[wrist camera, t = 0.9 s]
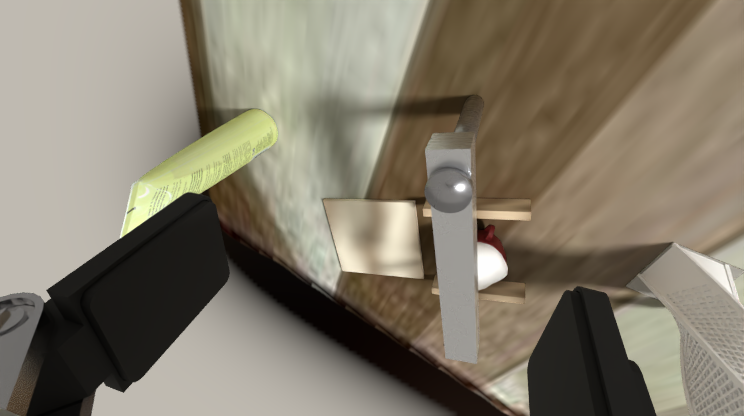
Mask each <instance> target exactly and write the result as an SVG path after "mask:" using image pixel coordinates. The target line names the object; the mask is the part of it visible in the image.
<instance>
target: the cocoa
mask: <svg viewBox="0 0 744 416" xmlns="http://www.w3.org/2000/svg"><path fill="white" fill-rule="evenodd" d="M494 230H495V226H494V225H488V226H487V227H486V228H485V229H484V230H477V255H478V290H482V289H485V288H487V287H488V286H490V285H491V284H493V283H496V282H498V281H500V280H501V279H503V278H504V277H505V276H507V272H508V267H507V259H506V254H505V251H504V249H503V246H502V243H501V241H500V240H499V239H498V238H497V237H496V236H495V235H494Z"/></svg>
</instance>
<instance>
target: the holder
mask: <svg viewBox="0 0 744 416" xmlns="http://www.w3.org/2000/svg"><path fill="white" fill-rule="evenodd" d="M476 210H477V218H480V219H506V220H531V201H530V199H494V198H476ZM423 215H424V216H429V217H432V214H431V205H430V204H429V203H428V201H427V199H426V202H425V204H424V207H423ZM432 294H439V285H438V275H435V277H434V281H433V285H432ZM478 299H483V300H492V301H501V302H510V303H518V304H525V283H517V282H507V281H498V282H496V283H493V284H491V285H490V286H488V287H487V288H485V289H482V290H478Z"/></svg>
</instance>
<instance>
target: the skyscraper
mask: <svg viewBox="0 0 744 416" xmlns="http://www.w3.org/2000/svg"><path fill="white" fill-rule="evenodd" d="M743 273H744V270H742V269H740V268H737V267H735V266H732V265H730V264H727V263H725V262H722V261H719V260H717V259H714V258H712V257H709V256H707V255H704V254H702V253H699V252H697V251H694V250H692V249H689V248H687V247H684V246H681V245H679V244H677V243H674V242H673V243H671V244H670V245H669V246H668V247H667V248H666V249H665V250H664V251H663V252H662V253H661V254H660V255H658V256H657V257H656V258H655V259H654V260H653V261H652V262H651V263H650V264H649V265H648V266H646V267H645V268H644V269H643V270H642V271H641V272H640V273H639V274H638V275H637V276H636V277H634V278H633V279H632V280H631V281H630V282H629V283H628V284H627V285H626V287H628V288H630V289H633V290H635V291H638V292H640V293H642V294H645V295H647V296H650V297H652V298H654V299H657V300H659V301H661V302H662V303H663V304H664V306H665V307H666V308H667V309H668V310H669V311H670V312H671V313H672V315H673V316H674V318H675V321H676V323H677V325H678V328H679V331H680V363H681V373H682V382H683V387H684V393H685V398H686V402H687V406H688V410H689V413H690V416H744V306H743V305H742V304H741V303H740V301H739V297H738V294H737V291H736V287H735V284H734V280H735V279H736V278H737V277H739V276H740V275H742V274H743Z"/></svg>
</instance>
